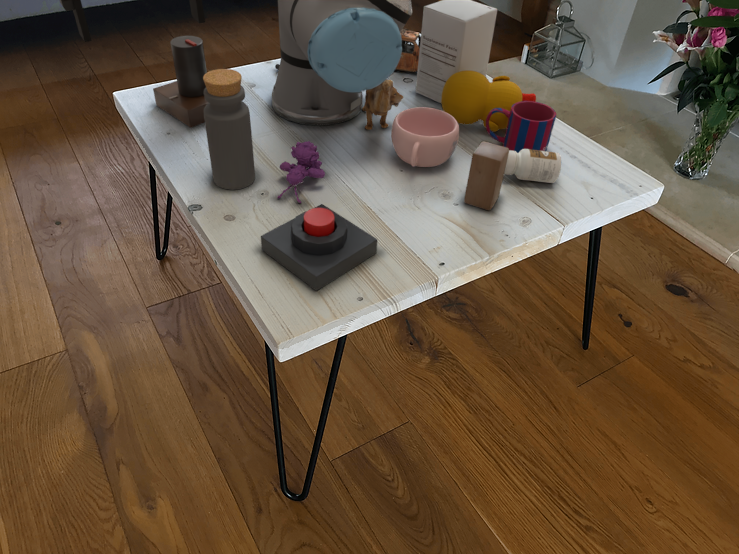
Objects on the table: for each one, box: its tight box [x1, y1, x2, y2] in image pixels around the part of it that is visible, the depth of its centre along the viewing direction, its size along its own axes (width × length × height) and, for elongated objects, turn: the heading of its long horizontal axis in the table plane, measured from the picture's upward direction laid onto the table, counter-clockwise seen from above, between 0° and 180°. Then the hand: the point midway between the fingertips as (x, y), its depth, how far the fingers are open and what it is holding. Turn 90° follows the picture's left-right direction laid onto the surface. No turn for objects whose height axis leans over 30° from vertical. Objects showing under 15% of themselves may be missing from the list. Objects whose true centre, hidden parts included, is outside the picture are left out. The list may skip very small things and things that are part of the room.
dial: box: [169, 35, 208, 97], centre depth 95 cm, size 5×5×8 cm
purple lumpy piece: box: [276, 140, 326, 204], centre depth 83 cm, size 7×6×8 cm
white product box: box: [414, 0, 498, 105], centre depth 103 cm, size 9×9×15 cm
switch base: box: [260, 203, 378, 292], centre depth 73 cm, size 10×10×4 cm
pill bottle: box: [504, 149, 562, 184], centre depth 87 cm, size 4×4×8 cm
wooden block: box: [463, 140, 509, 211], centre depth 82 cm, size 4×4×8 cm
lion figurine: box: [361, 78, 404, 131], centre depth 98 cm, size 15×5×9 cm, turn 11°
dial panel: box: [152, 80, 209, 129], centre depth 99 cm, size 10×9×3 cm
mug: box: [390, 106, 460, 168], centre depth 89 cm, size 12×10×6 cm
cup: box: [485, 101, 557, 153], centre depth 93 cm, size 7×10×7 cm
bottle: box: [203, 68, 256, 191], centre depth 80 cm, size 6×6×15 cm
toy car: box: [394, 27, 421, 74], centre depth 114 cm, size 6×12×7 cm, turn 84°
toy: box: [441, 70, 537, 133], centre depth 98 cm, size 9×9×15 cm
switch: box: [304, 207, 334, 237], centre depth 71 cm, size 4×4×2 cm
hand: (144, 28), depth 73 cm, fingers open, 13 cm apart
